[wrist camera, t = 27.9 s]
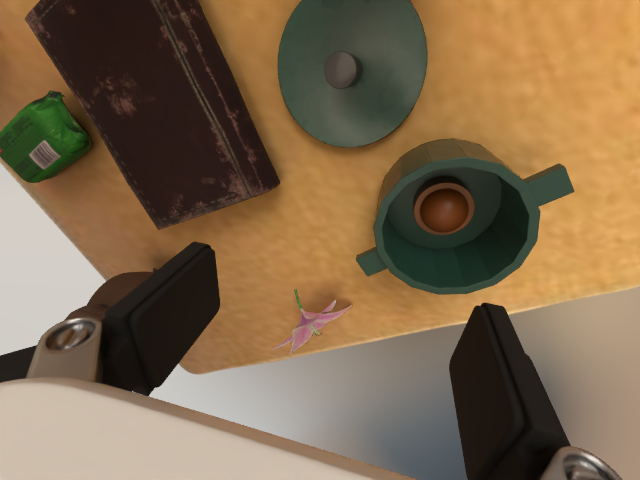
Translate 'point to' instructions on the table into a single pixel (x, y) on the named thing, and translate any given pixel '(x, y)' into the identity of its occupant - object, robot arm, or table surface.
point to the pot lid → (352, 68)
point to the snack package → (42, 139)
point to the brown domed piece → (443, 205)
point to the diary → (158, 101)
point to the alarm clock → (111, 294)
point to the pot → (472, 240)
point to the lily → (310, 325)
